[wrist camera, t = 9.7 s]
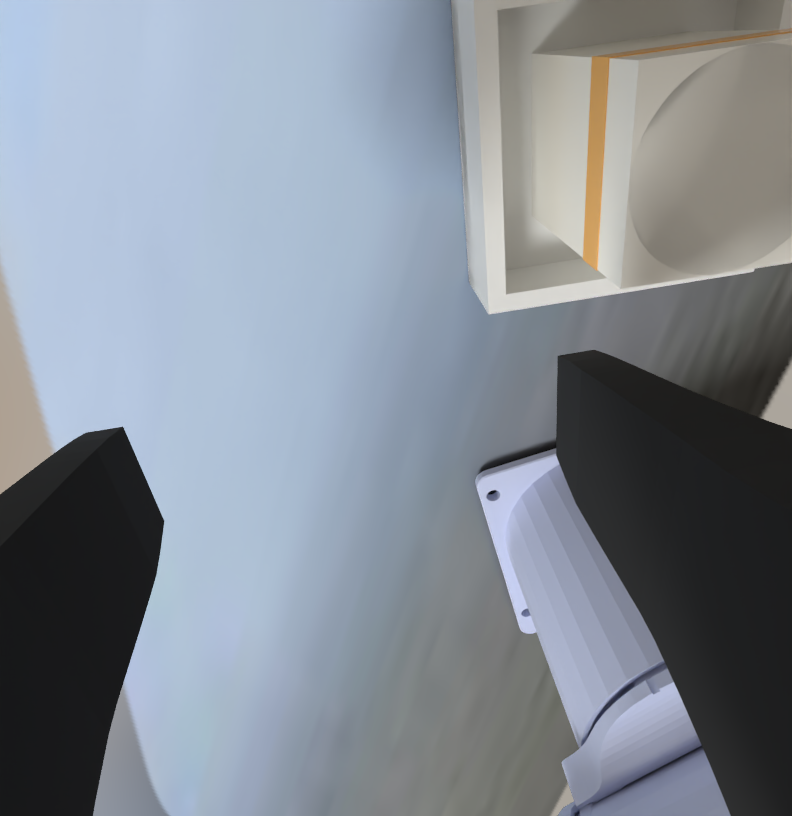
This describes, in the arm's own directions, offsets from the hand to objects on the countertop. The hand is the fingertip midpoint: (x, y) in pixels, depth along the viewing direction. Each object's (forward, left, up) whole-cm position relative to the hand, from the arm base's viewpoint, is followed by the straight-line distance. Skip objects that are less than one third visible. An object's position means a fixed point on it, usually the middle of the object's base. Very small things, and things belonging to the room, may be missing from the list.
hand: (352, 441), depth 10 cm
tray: (+1, -8, -9) cm, 12 cm away
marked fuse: (+1, -8, -9) cm, 12 cm away
